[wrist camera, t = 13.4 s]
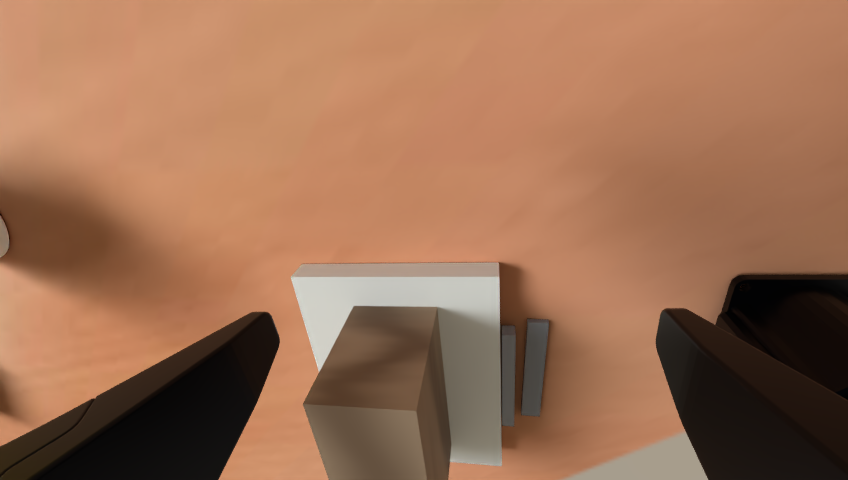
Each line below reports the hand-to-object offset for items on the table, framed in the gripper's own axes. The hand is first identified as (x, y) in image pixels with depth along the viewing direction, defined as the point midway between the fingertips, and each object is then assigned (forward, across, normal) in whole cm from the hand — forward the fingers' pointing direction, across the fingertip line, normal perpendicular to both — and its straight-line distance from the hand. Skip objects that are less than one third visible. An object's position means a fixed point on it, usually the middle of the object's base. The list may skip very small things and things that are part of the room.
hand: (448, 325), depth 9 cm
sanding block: (+10, +5, +13) cm, 18 cm away
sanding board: (+12, +5, +13) cm, 19 cm away
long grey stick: (+12, -1, +14) cm, 18 cm away
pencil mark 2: (+12, -3, +14) cm, 18 cm away
